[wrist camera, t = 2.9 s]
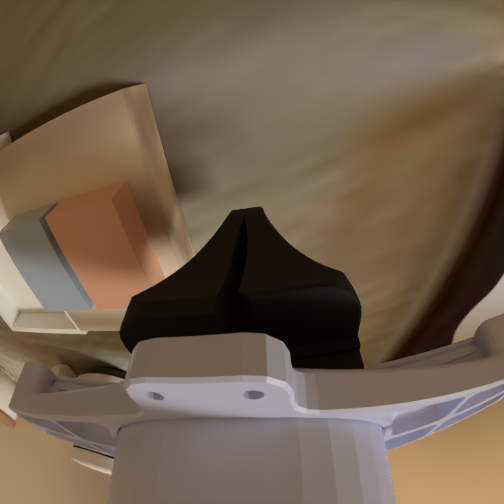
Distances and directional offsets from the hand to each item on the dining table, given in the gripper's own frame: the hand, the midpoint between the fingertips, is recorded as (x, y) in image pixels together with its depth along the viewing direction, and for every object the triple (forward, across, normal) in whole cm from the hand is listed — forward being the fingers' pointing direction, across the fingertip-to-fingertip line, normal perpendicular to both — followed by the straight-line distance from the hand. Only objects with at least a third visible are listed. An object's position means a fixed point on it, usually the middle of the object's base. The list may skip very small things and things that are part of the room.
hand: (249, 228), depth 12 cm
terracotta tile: (+1, +7, 0) cm, 7 cm away
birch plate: (+4, +9, 0) cm, 10 cm away
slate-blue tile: (+1, +12, 0) cm, 12 cm away
